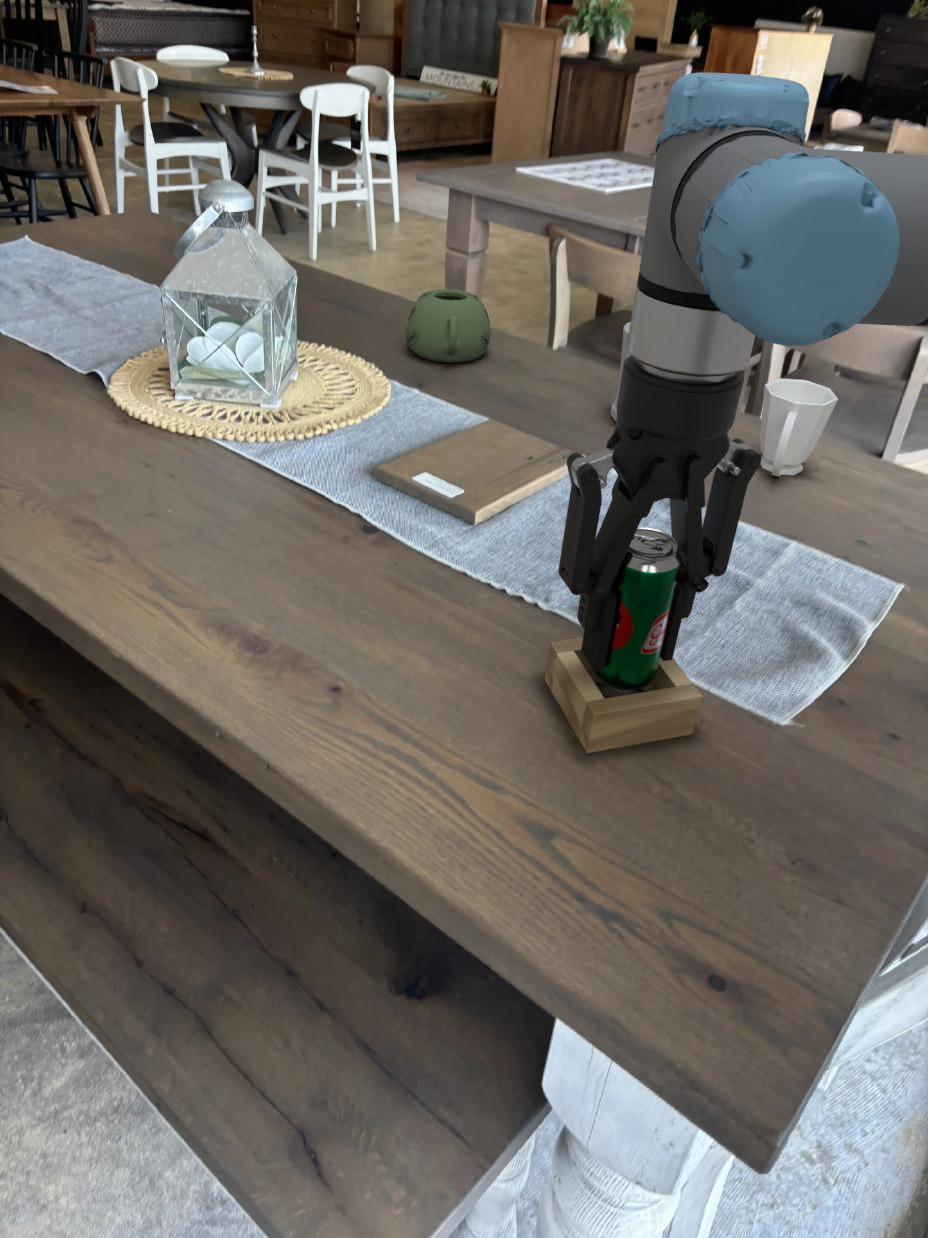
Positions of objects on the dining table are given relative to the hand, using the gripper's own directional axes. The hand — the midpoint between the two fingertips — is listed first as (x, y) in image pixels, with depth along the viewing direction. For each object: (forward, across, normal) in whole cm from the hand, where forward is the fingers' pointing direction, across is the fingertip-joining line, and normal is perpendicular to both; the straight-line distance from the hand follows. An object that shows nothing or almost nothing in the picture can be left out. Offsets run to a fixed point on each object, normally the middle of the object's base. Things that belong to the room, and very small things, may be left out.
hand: (626, 654), depth 70 cm
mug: (+5, -9, -81) cm, 81 cm away
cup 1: (+5, -29, -54) cm, 61 cm away
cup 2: (+5, -38, -36) cm, 52 cm away
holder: (+5, 0, 0) cm, 5 cm away
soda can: (+2, 0, 0) cm, 2 cm away
